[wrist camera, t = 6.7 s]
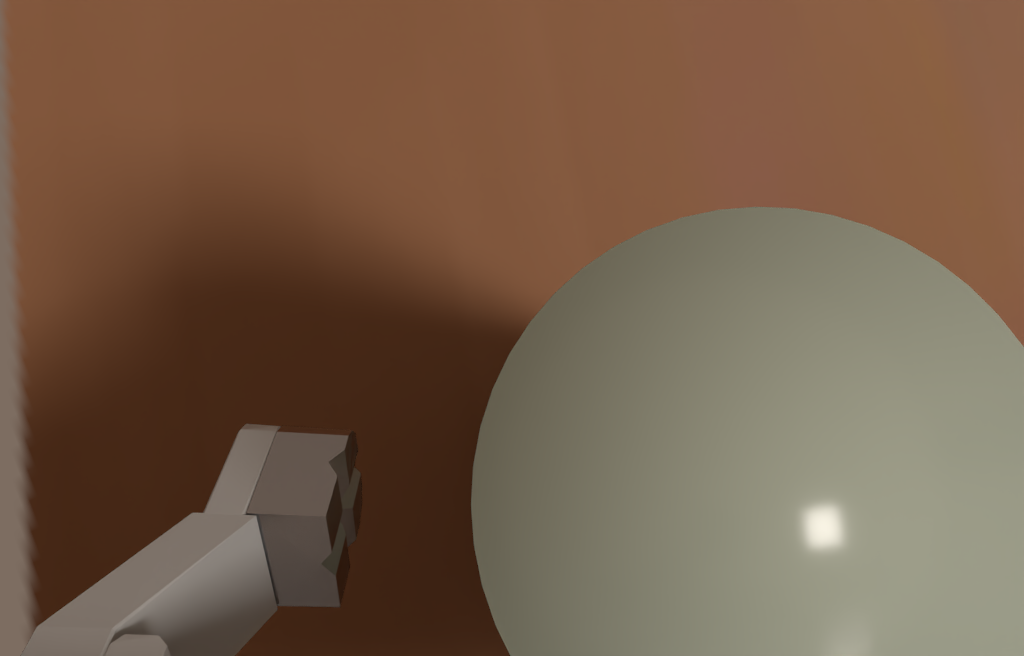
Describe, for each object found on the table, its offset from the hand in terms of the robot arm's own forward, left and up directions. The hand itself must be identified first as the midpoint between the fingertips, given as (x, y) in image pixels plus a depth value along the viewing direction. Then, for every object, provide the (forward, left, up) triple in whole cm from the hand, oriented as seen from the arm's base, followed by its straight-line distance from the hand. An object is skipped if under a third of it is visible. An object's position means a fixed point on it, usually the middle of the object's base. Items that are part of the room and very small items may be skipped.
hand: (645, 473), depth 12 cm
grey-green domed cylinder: (0, 0, -7) cm, 7 cm away
